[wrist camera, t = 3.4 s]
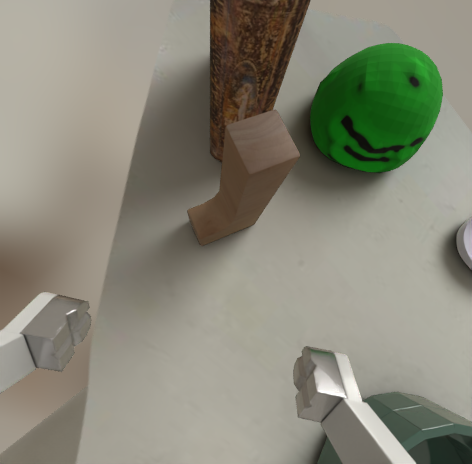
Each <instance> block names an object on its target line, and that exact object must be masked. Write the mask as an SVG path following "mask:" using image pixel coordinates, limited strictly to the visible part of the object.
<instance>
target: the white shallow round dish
mask: <svg viewBox="0 0 472 464" xmlns="http://www.w3.org/2000/svg"><path fill="white" fill-rule="evenodd" d="M456 242H457V249H458V252H459V254H460V256H461V258H462V259H463V260H464V262H465V263H466V264H467V265H468V267H469V268H470V269H471V270H472V217H471V218H469V219H468V220H467V221H465V222H464V223H463V225H462V226H461V227H460V229H459V230H458V233H457V238H456Z"/></svg>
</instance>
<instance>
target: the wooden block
mask: <svg viewBox="0 0 472 464" xmlns="http://www.w3.org/2000/svg"><path fill="white" fill-rule="evenodd" d="M299 157H300V153H299V151H298V149H297V147H296V146H295V144H294V142H293V140H292V138H291V136H290V134H289V132H288V130H287V129H286V127H285V125H284V123H283V121H282V119H281V117H280V115H279V113H278V112H277V110H271V111H268V112H265V113H262V114H259V115H256V116H253V117H250V118H247V119H244V120H241V121H238V122H235V123H232V124H229V125H227V126H226V129H225V139H224V149H223V159H222V170H221V180H220V190H219V192H218V193H217V194H216V196H215V197H214V198H212V199H211V200H209V201H207V202H205V203H203V204H201V205H198V206H196V207H193V208H191V209H188V210H187V213H188V216H189V220H190V222H191V225H192V227H193V230H194V232H195V234H196V237H197V239H198V241H199V244H200V245H201V246H203V245H206V244H208V243H211V242H213V241H216V240H218V239H220V238H223V237H225V236H228V235H230V234H232V233H235V232H237V231H240V230H242V229H244V228H247V227H249V226H252V225H254V224H255V222H256V221H257V219H258V218H259V216H260V215H261V213H262V212H263V210H264V209H265V207H266V206H267V204H268V203H269V201H270V200H271V198H272V197H273V196H274V194H275V193H276V191H277V190H278V188H279V187H280V185H281V184H282V182H283V181H284V179H285V178H286V176H287V175H288V173H289V172H290V170H291V169H292V168H293V166H294V165H295V163H296V162H297V160H298V159H299Z"/></svg>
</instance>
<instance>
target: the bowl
mask: <svg viewBox="0 0 472 464" xmlns="http://www.w3.org/2000/svg"><path fill="white" fill-rule="evenodd" d="M363 402H365V403H367V404H368V405H369V406H370V407H371V409H372V410H373V411H374V412H375V414H376V415H377V416H378V417H379V418H380V420H381V421H382V422H383V423H384V425H385V426H386V427H387V428H388V429H389V431H390V432H391V433H392V434H393V436H394V437H395V438H396V439H397V440H398V442H399V443H400V444H401V445H402V447H403V448H404V449H405V450H406V451H407V453H408V454H409V455H410V456H411V458H412V459H413V460H414V461H415V462H416V464H472V422H471V421H469V420H467V419H465V418H463V417H461V416H459V415H457V414H455V413H453V412H451V411H449V410H447V409H445V408H443V407H441V406H439V405H437V404H435V403H433V402H431V401H429V400H427V399H425V398H423V397H420V396H415V395H410V394H405V393H400V392H391V393H386V394H380V395H374V396H371V397H369V398H367V399H365V400H364V401H363ZM317 464H343V463H342V462H341V460H340V458H339V456H338V454H337V453H336V451H335V449H334V447H333V445H332V444H331V442H330V440H329V438H328V437H327V439H326V442H325V444H324V447H323V450H322V452H321V455H320V457H319V460H318V462H317Z"/></svg>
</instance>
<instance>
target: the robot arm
mask: <svg viewBox="0 0 472 464" xmlns="http://www.w3.org/2000/svg"><path fill="white" fill-rule="evenodd" d="M88 309H89V303H88V301H84V300H79V299H74V298H70V297H66V296H61V295H57V294H52V293H47V292H42V293H41V294H39V295H37V296H36V297H35V298H34V299H33V300H32V301H31V302H30V303H29V304H28V305H27V306H26V307H25V308H24V309H23V310H22V311H21V312H20V313H19V314H18V315H17V316H16V317H15V318H14V319H13V320H12V321H11V322H10V323H9V324H7V326H6V327H5V328H3V329H2V330H0V394H1V393H2V392H4V391H5V390H7V389H8V388H9V387H11V386H12V385H14V384H15V383H17V382H18V381H19V380H21V379H22V378H24V377H25V376H27V375H28V374H30V373H31V372H33V371H34V370H36V368H43V369H48V370H55V371H61V372H62V371H63V369H64V368H65V366H66V365H67V363H68V362H69V361H70V359H71V358H72V356H73V355H74V346H76V345H77V344H79V343H81V342H82V341H83V340H84V338H85V337H86V335H87V333H88V331H89V328H90V325H91V316H90V315H89V314H88V313H87V310H88ZM293 379H294V385H295V386H296V388H297V389H298V391H299V392H298V394H297V395H296V405H297V414H298V418H303V419H307V420H312V421H316V422H321V426H322V427H323V429H324V431H325V433H326V435H327V436H328V438H329V440H330V442H331V444H332V445H333V447H334V449H335V451H336V453H337V454H338V456H339V458H340V460H341V462H342V463H343V464H416V462H415V461H414V460H413V459H412V458H411V456H410V455H409V454H408V453H407V451H406V450H405V449H404V448H403V447H402V445H401V444H400V443H399V442H398V440H397V439H396V438H395V437H394V436H393V434H392V433H391V432H390V431H389V429H388V428H387V427H386V426H385V425H384V423H383V422H382V421H381V420H380V418H379V417H378V416H377V415H376V414H375V412H374V411H373V410H372V409H371V407H370V406H369V405H368V404H367V403H365V402H363V401H362V398H361V395H360V392H359V389H358V386H357V383H356V380H355V377H354V374H353V371H352V368H351V365H350V362H349V359H348V357H347V355H346V354H343V353H337V352H332V351H329V350H324V349H319V348H313V347H308V346H306V347H304V348H303V350H302V356H301V357H299V358H297V360H296V362H295V365H294V370H293Z"/></svg>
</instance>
